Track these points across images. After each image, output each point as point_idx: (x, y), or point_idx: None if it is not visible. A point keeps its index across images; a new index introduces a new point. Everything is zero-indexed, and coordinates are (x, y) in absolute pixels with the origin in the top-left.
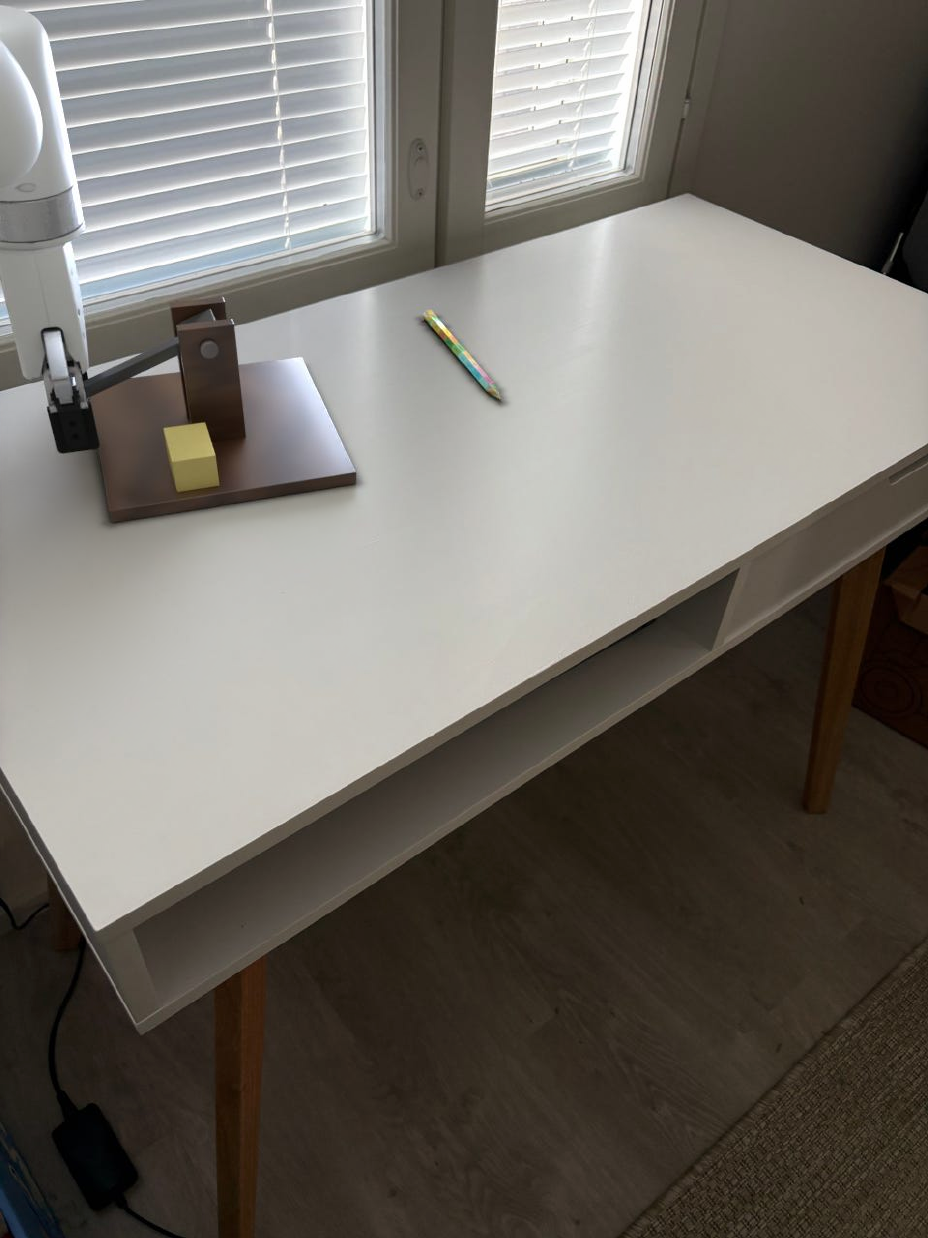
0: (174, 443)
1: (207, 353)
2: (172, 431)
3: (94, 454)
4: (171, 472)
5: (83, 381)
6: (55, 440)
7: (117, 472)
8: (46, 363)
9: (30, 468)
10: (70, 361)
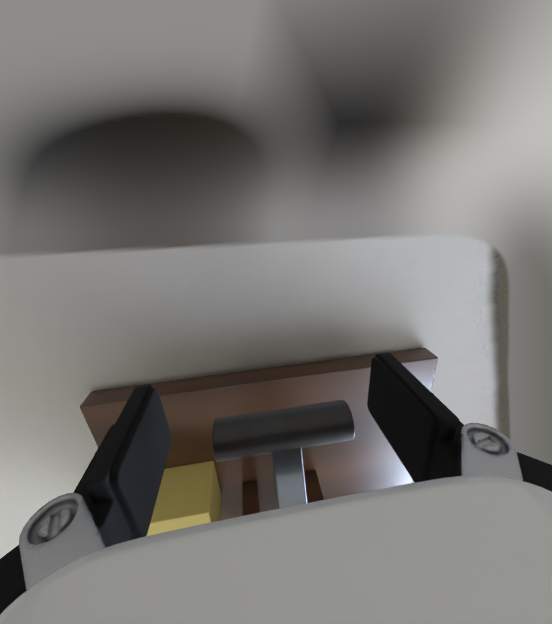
0: (161, 528)
1: None
2: (196, 523)
3: (269, 360)
4: (178, 465)
5: (301, 473)
6: (125, 406)
7: (183, 409)
8: (408, 399)
9: (248, 275)
10: (401, 438)
